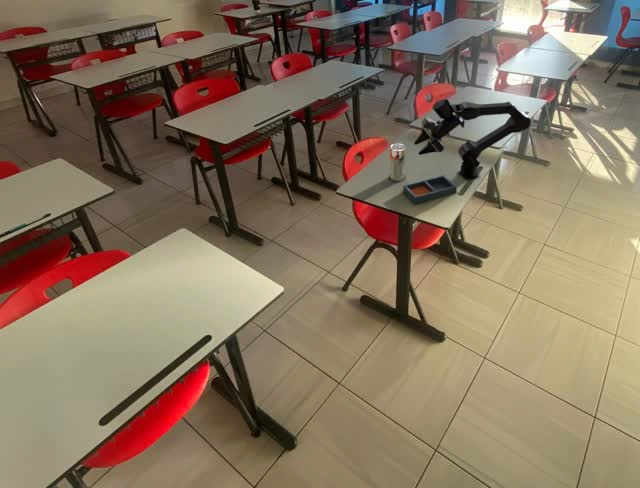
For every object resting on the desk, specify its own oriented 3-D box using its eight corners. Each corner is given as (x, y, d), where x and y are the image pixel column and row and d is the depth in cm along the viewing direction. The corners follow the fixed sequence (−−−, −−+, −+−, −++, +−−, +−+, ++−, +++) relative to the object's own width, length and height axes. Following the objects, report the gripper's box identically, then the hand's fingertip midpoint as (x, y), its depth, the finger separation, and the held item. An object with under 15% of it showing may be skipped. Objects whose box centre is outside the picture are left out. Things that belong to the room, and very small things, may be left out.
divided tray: (442, 181, 180) (443, 175, 178) (455, 192, 172) (456, 186, 171) (403, 191, 173) (403, 185, 171) (414, 204, 165) (415, 197, 164)
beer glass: (407, 175, 184) (408, 145, 176) (401, 183, 178) (402, 152, 171) (393, 172, 186) (393, 142, 179) (386, 179, 181) (387, 148, 173)
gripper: (430, 103, 175) (401, 126, 179) (441, 121, 159) (409, 146, 163) (444, 121, 180) (416, 143, 184) (456, 140, 164) (425, 164, 168)
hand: (416, 148), depth 175 cm, fingers open, 9 cm apart
